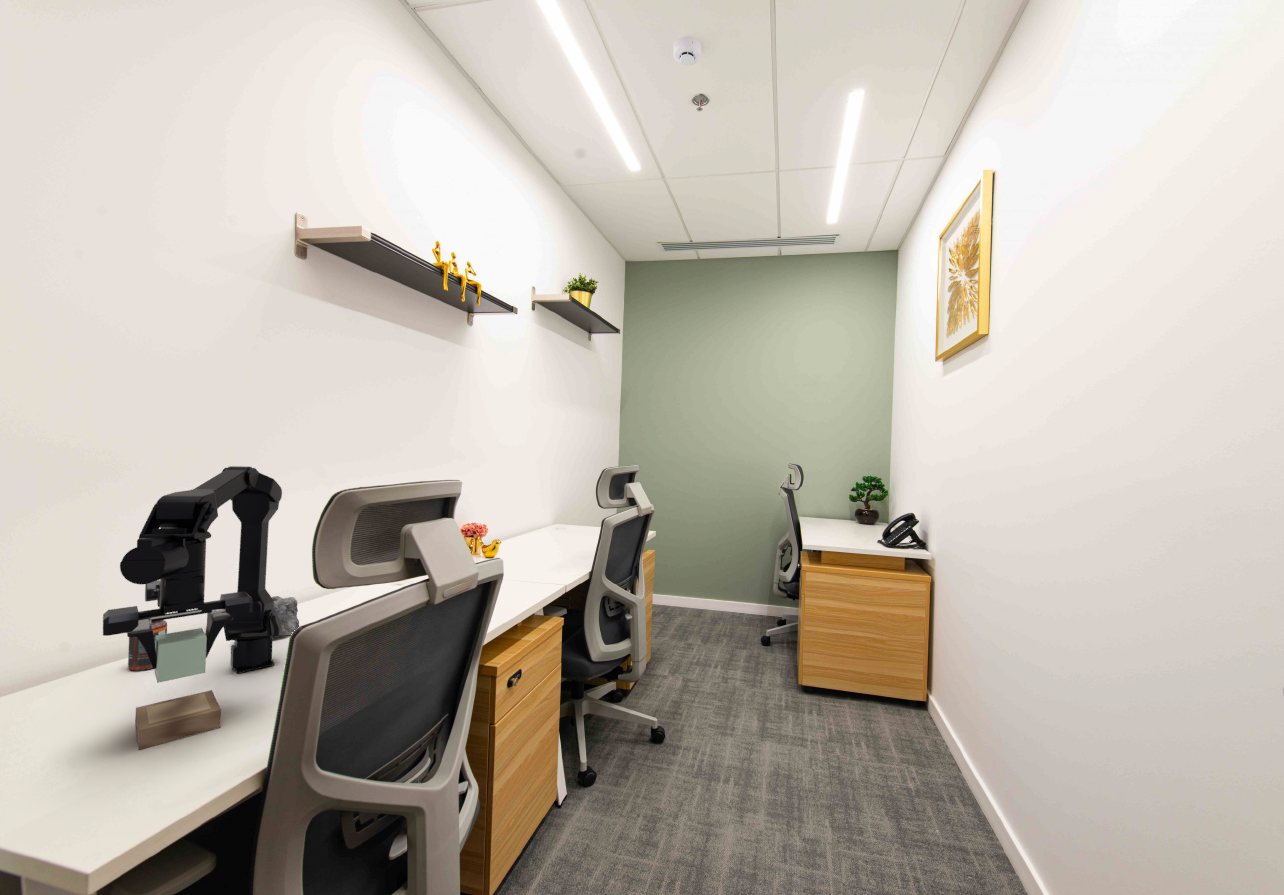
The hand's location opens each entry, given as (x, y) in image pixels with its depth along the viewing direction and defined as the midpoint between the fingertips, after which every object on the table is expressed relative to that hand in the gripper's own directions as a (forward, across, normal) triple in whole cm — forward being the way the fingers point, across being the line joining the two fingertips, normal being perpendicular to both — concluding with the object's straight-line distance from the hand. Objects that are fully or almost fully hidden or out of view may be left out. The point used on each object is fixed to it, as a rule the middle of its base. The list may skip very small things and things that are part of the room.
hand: (180, 662), depth 90 cm
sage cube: (+2, 0, 0) cm, 2 cm away
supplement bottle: (+11, +2, -36) cm, 38 cm away
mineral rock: (+11, -20, -40) cm, 46 cm away
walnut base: (+11, 0, 0) cm, 11 cm away
